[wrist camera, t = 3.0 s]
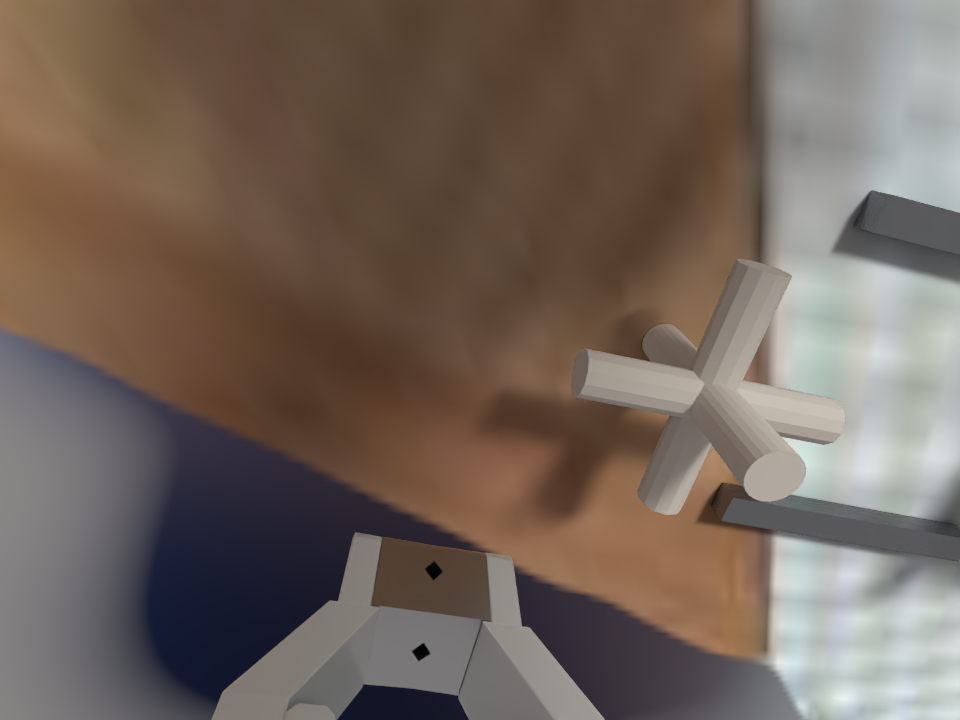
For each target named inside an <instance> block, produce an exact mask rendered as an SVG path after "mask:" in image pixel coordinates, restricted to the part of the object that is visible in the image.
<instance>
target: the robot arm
mask: <svg viewBox="0 0 960 720" xmlns="http://www.w3.org/2000/svg"><path fill="white" fill-rule="evenodd" d="M363 684H367V685H378V686H390V687H403V688H412V689H419V690H426V691H432V692H439V693H447V694H453V695H459V697H458V699H459V701H460V703H461V704H462V706H463V708H464V710H465V712H466V714H467V716H468V718H469V720H605V719H604V718H603V717H602V716H601V714H600V713H599V712H598V711H597V709H596V708H595V707H594V706H593V705H592V704H591V702H590V701H589V700H588V698H587V697H586V696H585V695H584V694H583V692H582V691H581V690H580V689H579V688H578V686H577V685H576V684H575V683H574V681H573V680H572V679H571V678H570V676H569V675H568V674H567V673H566V672H565V670H564V669H563V668H562V667H561V666H560V664H559V663H558V662H557V661H556V659H555V658H554V657H553V656H552V654H551V653H550V652H549V651H548V650H547V648H546V647H545V646H544V645H543V643H542V642H541V641H540V640H539V639H538V637H537V636H536V635H535V634H534V633H533V631H532V630H531V629H530V628H528V627H522V624H521V617H520V610H519V603H518V596H517V588H516V581H515V574H514V566H513V560H512V558H511V557H510V556H506V555H499V554H492V553H481V552H474V551H467V550H460V549H453V548H447V547H440V546H432V545H427V544H421V543H416V542H410V541H404V540H399V539H393V538H387V537H378V536H373V535H367V534H362V533H355V534H354V537H353V540H352V544H351V548H350V552H349V557H348V561H347V565H346V569H345V574H344V578H343V583H342V587H341V591H340V595H339V599H338V601H329V602H327V603H326V604H325V605H324V606H323V607H322V608H320V609H319V610H318V611H317V612H316V613H315V614H313V615H312V616H311V617H310V618H309V619H308V620H306V621H305V622H304V623H303V624H301V625H300V626H299V627H298V628H297V629H296V630H294V631H293V632H292V633H291V634H290V635H289V636H287V637H286V638H285V639H284V640H283V641H281V642H280V643H279V644H278V645H277V646H276V647H275V648H273V649H272V650H271V651H270V652H269V653H267V654H266V655H265V656H264V657H263V658H261V659H260V660H259V661H258V662H257V663H256V664H254V665H253V666H252V667H251V668H250V669H249V670H247V671H246V672H245V673H244V674H243V675H242V676H240V677H239V678H238V679H237V680H236V681H234V682H233V683H232V684H231V685H230V686H229V687H227V688H226V689H225V690H224V691H223V692H222V695H221V697H220V700H219V702H218V705H217V707H216V710H215V712H214V715H213V717H212V719H211V720H337V719H338V717H339V716H340V715H341V713H342V712H343V711H344V710H345V709H346V707H347V706H348V705H349V703H350V702H351V701H352V700H353V699H354V697H355V696H356V695H357V694H358V692H359V691H360V690H361V688H362V687H363Z"/></svg>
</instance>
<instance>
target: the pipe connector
mask: <svg viewBox="0 0 960 720" xmlns="http://www.w3.org/2000/svg"><path fill="white" fill-rule="evenodd" d="M791 278H792V276H791V275H790V274H788V273H786V272H784V271H782V270H779V269H777V268H774V267H771V266H768V265H765V264H762V263H758V262H754V261H751V260H745V259H736V261H735V264H734V266H733V268H732V271H731V273H730V275H729V278H728V280H727V282H726V285H725V287H724V289H723V292H722V294H721V296H720V299H719V301H718V303H717V306H716V308H715V310H714V313H713V315H712V317H711V320H710V322H709V324H708V327H707V329H706V331H705V334H704V336H703V338H702V341H701V343H700V345H699V348H698V349H697V348H696V347H695V346H694V345H693V344H692V343H691V342H690V341H689V340H688V339H687V338H686V337H685V336H684V335H683V333H682V332H681V331H680V330H679V329H678V328H676V327H675V326H673V325H671V324H659V325H657V326H654V327H653V328H651V329H650V330H649V331H648V332H647V333H646V334H645V336H644V338H643V342H642V348H643V351H644V353H645V354H646V356H647V357H648V358H649V360H650V361H651V362H650V361H645V360H640V359H635V358H631V357H626V356H621V355H616V354H611V353H606V352H601V351H596V350H591V349H586V348H583V349H582V350H581V351H580V352H579V354H578V356H577V358H576V360H575V363H574V367H573V371H572V379H571V389H572V394H573V395H574V396H575V397H576V398H582V399H587V400H592V401H597V402H602V403H608V404H613V405H618V406H623V407H629V408H634V409H639V410H644V411H650V412H655V413H660V414H665V415H669V418H668V420H667V422H666V425H665V427H664V429H663V432H662V434H661V436H660V439H659V441H658V443H657V446H656V448H655V450H654V453H653V455H652V457H651V460H650V462H649V464H648V467H647V469H646V471H645V473H644V476H643V478H642V480H641V483H640V485H639V487H638V497H639V498H640V500H641V501H642V502H643V503H644V504H645V505H646V506H648V507H649V508H651V509H652V510H654V511H656V512H659V513H662V514H665V515H676V514H677V513H678V512H679V511H680V510H681V508H682V506H683V504H684V502H685V500H686V498H687V496H688V494H689V491H690V489H691V487H692V485H693V483H694V481H695V479H696V477H697V475H698V473H699V470H700V468H701V466H702V464H703V462H704V460H705V458H706V456H707V454H708V452H709V450H710V447H711V445H712V446H713V447H714V448H715V450H716V451H717V453H718V454H719V455H720V457H721V458H722V459H723V461H724V462H725V463H726V465H727V466H728V468H729V469H730V470H731V472H732V473H733V474H734V476H735V477H736V478H737V480H738V481H739V483H740V484H741V485H742V487H743V488H744V489H745V491H746V492H747V493H748V495H749V496H751V497H752V498H754V499H756V500H759V501H765V502H770V501H777V500H780V499H783V498H785V497H787V496H789V495H790V494H792V493H793V492H794V491H795V490H797V489H798V488H799V486H800V485H801V484H802V482H803V480H804V478H805V474H806V467H805V463H804V461H803V460H802V458H801V457H800V456H799V455H798V454H797V453H796V452H795V451H794V450H793V449H792V448H791V447H790V446H789V445H788V444H787V442H786V441H785V440H784V439H783V438H782V437H786V438H791V439H797V440H802V441H807V442H812V443H818V444H823V445H825V444H829V443H833V442H834V441H835V440H836V439H837V438H838V437H839V436H840V435H841V433H842V430H843V427H844V424H845V414H844V409H843V407H842V406H841V404H840V403H839V401H837V400H834V399H831V398H828V397H823V396H818V395H813V394H808V393H803V392H798V391H793V390H788V389H783V388H778V387H773V386H769V385H764V384H759V383H754V382H749V381H744V380H743V378H744V376H745V374H746V372H747V370H748V368H749V366H750V364H751V361H752V359H753V357H754V355H755V353H756V351H757V349H758V347H759V345H760V343H761V340H762V338H763V336H764V334H765V332H766V330H767V328H768V326H769V324H770V322H771V320H772V317H773V315H774V313H775V311H776V309H777V307H778V305H779V303H780V301H781V299H782V296H783V294H784V292H785V290H786V288H787V286H788V284H789V282H790V280H791Z"/></svg>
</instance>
